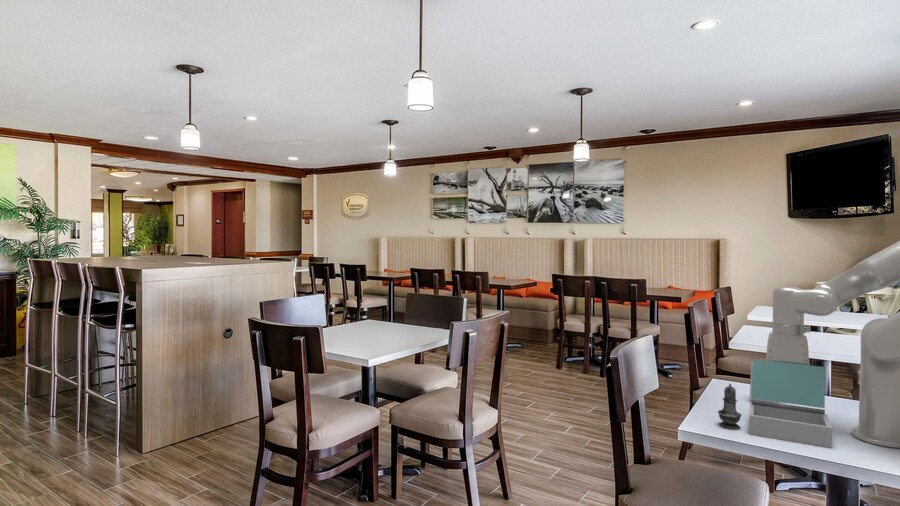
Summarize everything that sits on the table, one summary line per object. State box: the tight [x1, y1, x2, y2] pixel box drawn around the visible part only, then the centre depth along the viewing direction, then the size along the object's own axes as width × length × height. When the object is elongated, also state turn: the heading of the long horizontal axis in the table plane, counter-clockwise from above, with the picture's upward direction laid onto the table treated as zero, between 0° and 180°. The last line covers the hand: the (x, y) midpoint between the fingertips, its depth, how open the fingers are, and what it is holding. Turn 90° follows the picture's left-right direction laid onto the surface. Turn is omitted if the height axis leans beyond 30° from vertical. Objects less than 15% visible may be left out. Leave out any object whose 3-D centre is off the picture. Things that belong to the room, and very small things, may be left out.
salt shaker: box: [717, 383, 742, 430], centre depth 145 cm, size 6×6×12 cm
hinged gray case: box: [748, 402, 833, 449], centre depth 139 cm, size 18×12×5 cm, turn 59°
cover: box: [751, 358, 826, 414], centre depth 145 cm, size 17×13×1 cm
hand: (786, 393), depth 149 cm, fingers closed
